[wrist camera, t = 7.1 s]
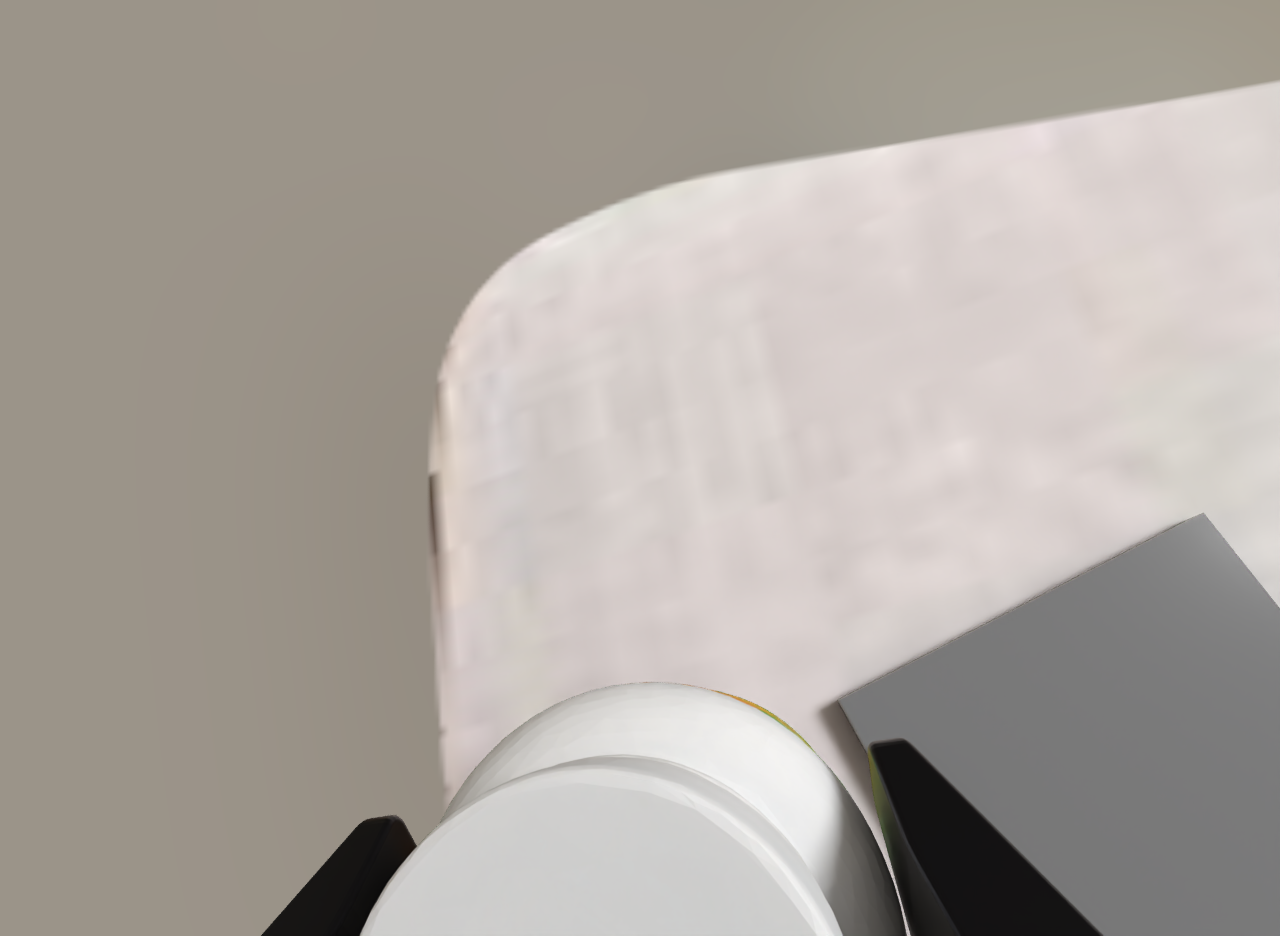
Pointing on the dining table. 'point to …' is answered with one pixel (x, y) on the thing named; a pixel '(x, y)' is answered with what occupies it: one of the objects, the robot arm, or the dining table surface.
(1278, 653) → the slate coaster
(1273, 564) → the dining table surface
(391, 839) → the robot arm
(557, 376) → the dining table surface
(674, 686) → the supplement bottle
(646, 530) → the dining table surface
